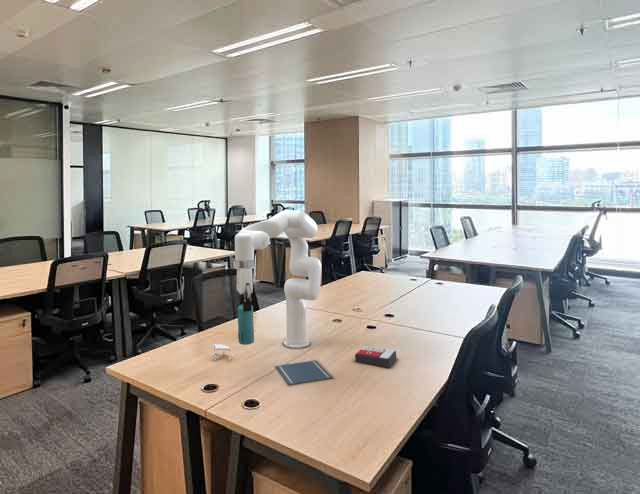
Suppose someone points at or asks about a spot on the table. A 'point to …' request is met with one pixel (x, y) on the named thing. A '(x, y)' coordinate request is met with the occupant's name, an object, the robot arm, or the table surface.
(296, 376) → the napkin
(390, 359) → the black buttoned block
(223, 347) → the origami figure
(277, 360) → the table surface
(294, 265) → the robot arm
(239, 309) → the beverage bottle
